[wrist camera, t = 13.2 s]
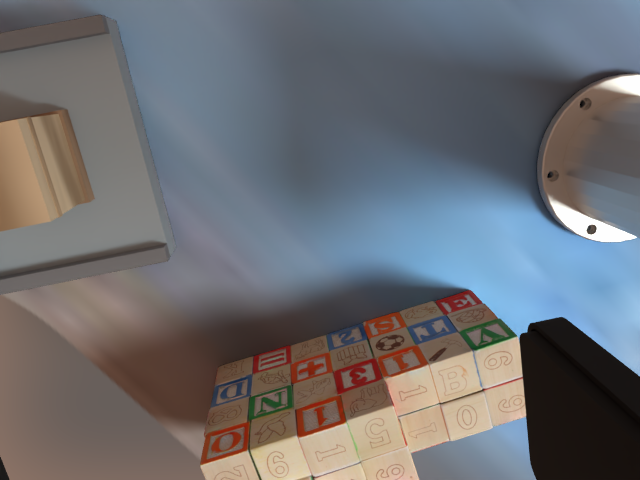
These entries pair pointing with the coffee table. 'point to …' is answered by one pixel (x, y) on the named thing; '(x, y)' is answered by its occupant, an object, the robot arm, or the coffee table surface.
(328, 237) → the coffee table surface
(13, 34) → the dock
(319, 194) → the coffee table surface
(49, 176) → the pedestal
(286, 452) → the stack of blocks
